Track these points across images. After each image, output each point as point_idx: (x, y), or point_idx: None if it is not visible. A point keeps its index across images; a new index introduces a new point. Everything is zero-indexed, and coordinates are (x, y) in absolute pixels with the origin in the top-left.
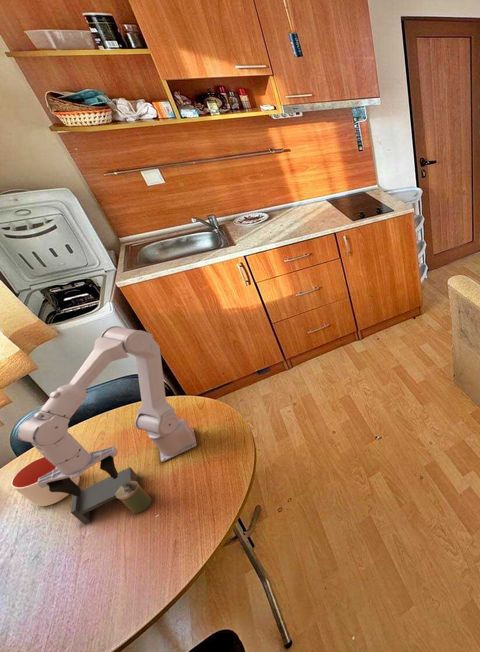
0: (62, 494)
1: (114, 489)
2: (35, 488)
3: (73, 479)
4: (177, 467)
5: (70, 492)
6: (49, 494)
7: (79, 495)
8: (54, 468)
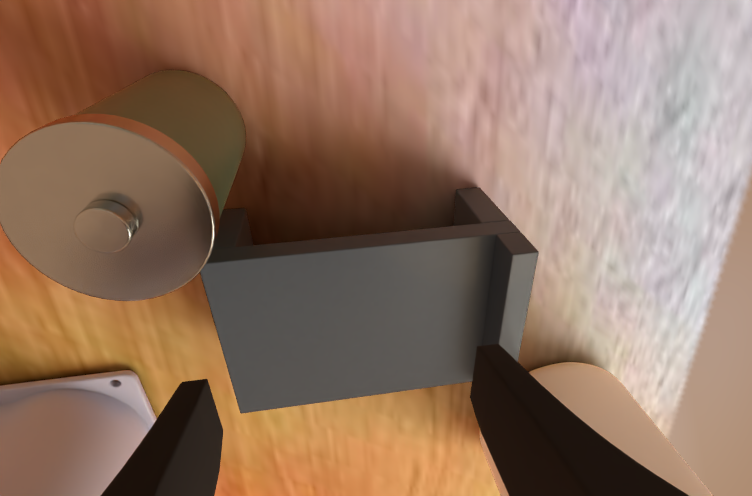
0: None
1: (307, 303)
2: None
3: None
4: (21, 300)
5: (551, 414)
6: (591, 414)
7: None
8: None
